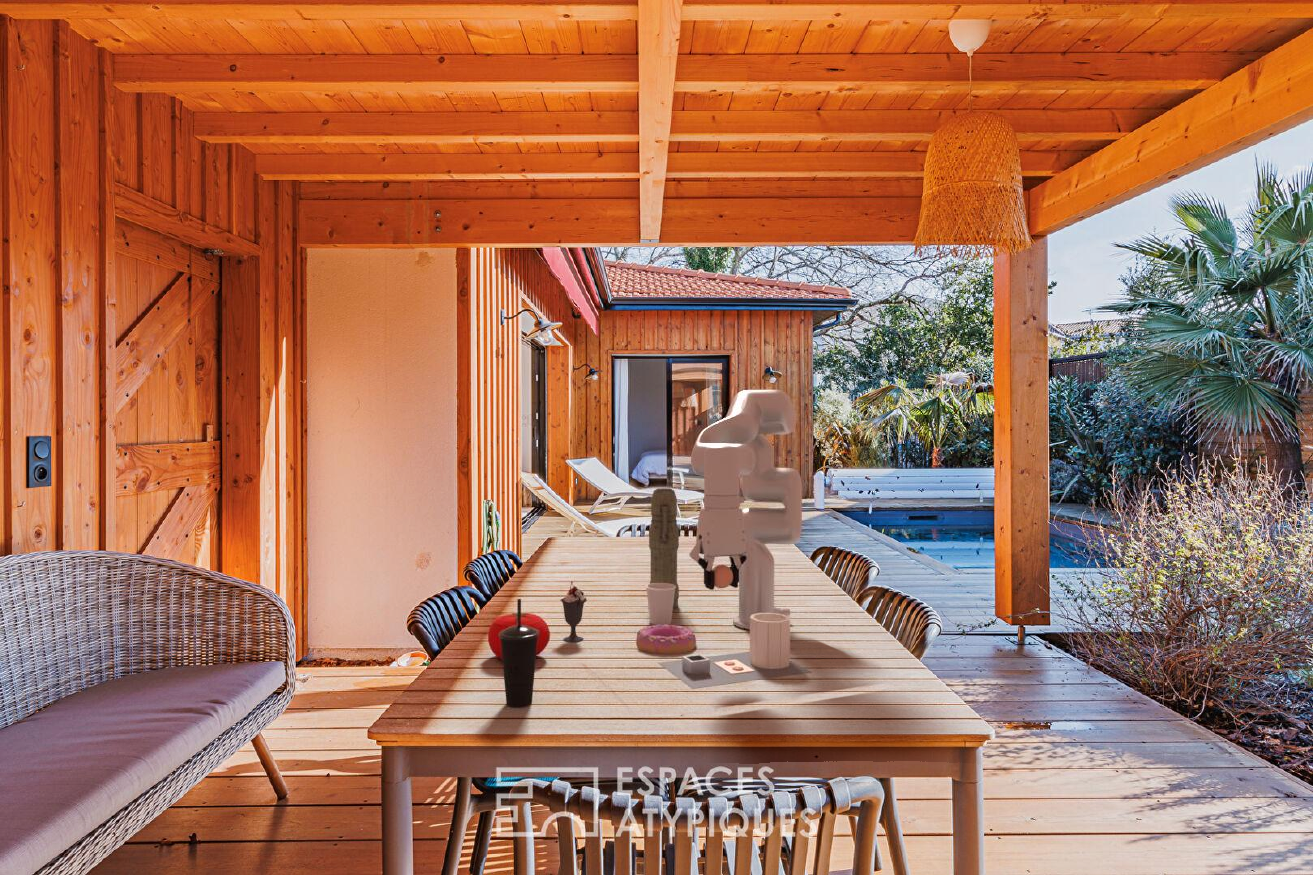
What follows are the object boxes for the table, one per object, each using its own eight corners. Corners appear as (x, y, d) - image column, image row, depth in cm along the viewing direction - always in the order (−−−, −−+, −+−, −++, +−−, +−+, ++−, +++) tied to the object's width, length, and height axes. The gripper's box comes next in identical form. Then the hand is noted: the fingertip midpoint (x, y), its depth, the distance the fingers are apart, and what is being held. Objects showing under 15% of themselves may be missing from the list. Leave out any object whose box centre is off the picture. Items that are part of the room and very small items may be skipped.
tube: (776, 654, 175) (776, 611, 175) (797, 666, 166) (797, 620, 166) (742, 659, 171) (743, 614, 171) (763, 670, 163) (763, 624, 163)
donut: (652, 640, 192) (652, 620, 192) (705, 647, 186) (705, 626, 186) (625, 655, 179) (625, 633, 179) (680, 663, 173) (680, 641, 173)
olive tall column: (674, 601, 234) (675, 487, 234) (681, 610, 222) (682, 490, 222) (646, 602, 233) (646, 487, 232) (651, 611, 221) (652, 490, 221)
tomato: (475, 662, 173) (475, 616, 172) (506, 647, 184) (506, 604, 184) (530, 669, 167) (530, 622, 167) (559, 653, 179) (559, 609, 179)
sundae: (565, 644, 187) (565, 583, 187) (556, 638, 193) (556, 578, 192) (590, 641, 190) (590, 581, 190) (580, 634, 196) (580, 576, 196)
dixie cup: (663, 627, 203) (663, 590, 203) (639, 622, 208) (639, 586, 208) (682, 621, 210) (682, 585, 210) (657, 616, 215) (657, 581, 215)
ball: (726, 584, 168) (726, 562, 167) (737, 589, 163) (737, 566, 163) (705, 586, 166) (705, 563, 166) (715, 591, 161) (715, 567, 161)
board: (768, 654, 179) (768, 647, 179) (812, 677, 162) (812, 670, 162) (658, 668, 169) (658, 661, 168) (692, 694, 152) (692, 686, 152)
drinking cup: (501, 696, 150) (501, 595, 150) (540, 695, 151) (540, 594, 151) (496, 710, 143) (496, 604, 142) (537, 709, 143) (537, 603, 143)
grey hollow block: (700, 667, 165) (701, 654, 165) (710, 673, 161) (710, 659, 161) (682, 670, 163) (682, 656, 163) (691, 676, 159) (691, 662, 159)
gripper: (748, 499, 171) (748, 581, 171) (678, 502, 164) (678, 587, 165) (765, 503, 164) (765, 587, 164) (692, 506, 157) (692, 594, 158)
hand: (721, 586), depth 164 cm, fingers closed on ball, 4 cm apart
